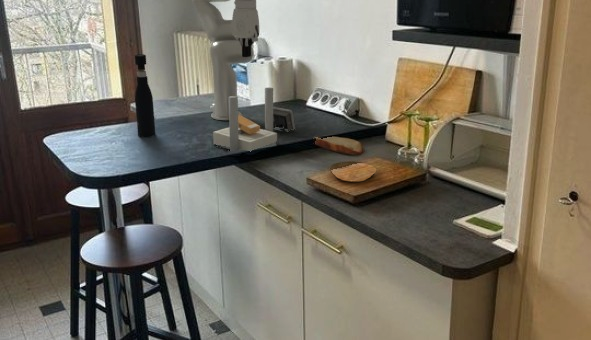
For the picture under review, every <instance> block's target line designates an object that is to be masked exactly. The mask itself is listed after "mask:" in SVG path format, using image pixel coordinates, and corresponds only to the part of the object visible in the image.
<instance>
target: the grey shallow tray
mask: <svg viewBox="0 0 591 340" xmlns="http://www.w3.org/2000/svg"><path fill="white" fill-rule="evenodd" d="M238 134H239V149H242V150H247V151H250V152H251V151H252V150H254V149H257V148H260V147H263V146H266V145H269V144H271V143H274V142H276V141H277V142H278V133H277V132H275V131H273V132H271V131H267V130H265V129H263V128H260V131H258V132H255V133H252V134H248V133H247V132H245V131H243V130H241V129H240V128H238ZM212 136H213V138H212V140H213V145H214V144H216V145H221V146H226V147H230V129H229V127H225V128H222V129H219V130H216V131H213V132H212Z"/></svg>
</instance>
